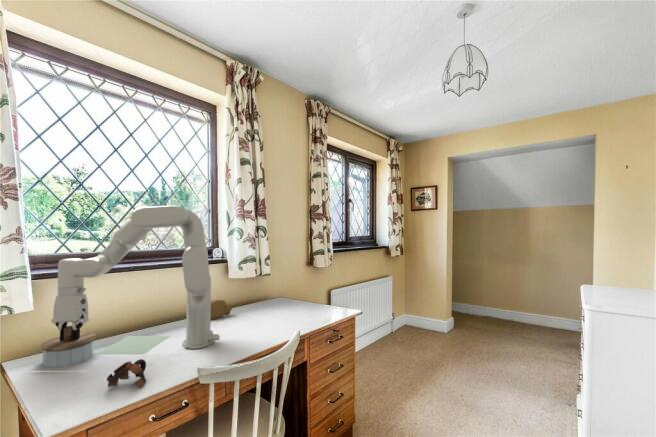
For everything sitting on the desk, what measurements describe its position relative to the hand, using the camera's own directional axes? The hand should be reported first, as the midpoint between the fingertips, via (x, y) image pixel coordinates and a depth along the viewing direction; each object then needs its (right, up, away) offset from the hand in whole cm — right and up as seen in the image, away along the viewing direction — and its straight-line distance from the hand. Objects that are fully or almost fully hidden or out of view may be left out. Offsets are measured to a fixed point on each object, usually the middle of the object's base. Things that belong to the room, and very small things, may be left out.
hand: (69, 339), depth 113 cm
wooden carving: (+36, -9, +51) cm, 64 cm away
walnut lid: (0, -1, 0) cm, 1 cm away
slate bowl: (0, -8, 0) cm, 8 cm away
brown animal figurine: (+35, -8, -18) cm, 40 cm away
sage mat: (+16, -8, +14) cm, 23 cm away
